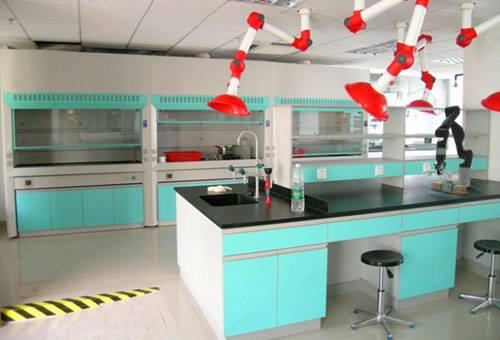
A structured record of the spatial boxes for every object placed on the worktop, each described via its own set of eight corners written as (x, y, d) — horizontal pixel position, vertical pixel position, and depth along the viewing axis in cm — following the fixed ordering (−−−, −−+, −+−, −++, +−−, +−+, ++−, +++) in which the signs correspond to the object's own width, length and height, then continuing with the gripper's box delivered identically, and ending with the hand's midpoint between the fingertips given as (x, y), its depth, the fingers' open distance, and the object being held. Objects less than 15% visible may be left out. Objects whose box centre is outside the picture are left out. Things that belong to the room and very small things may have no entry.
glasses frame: (429, 175, 353) (429, 169, 353) (452, 178, 337) (452, 172, 336) (427, 175, 352) (427, 169, 351) (450, 178, 335) (450, 172, 334)
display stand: (436, 188, 364) (437, 178, 362) (467, 193, 341) (468, 182, 340) (430, 189, 359) (431, 178, 358) (461, 194, 337) (462, 183, 336)
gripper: (441, 152, 349) (440, 173, 351) (431, 153, 341) (430, 175, 343) (450, 153, 342) (449, 174, 345) (440, 154, 335) (438, 176, 337)
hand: (439, 174), depth 344 cm, fingers closed on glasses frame, 3 cm apart
